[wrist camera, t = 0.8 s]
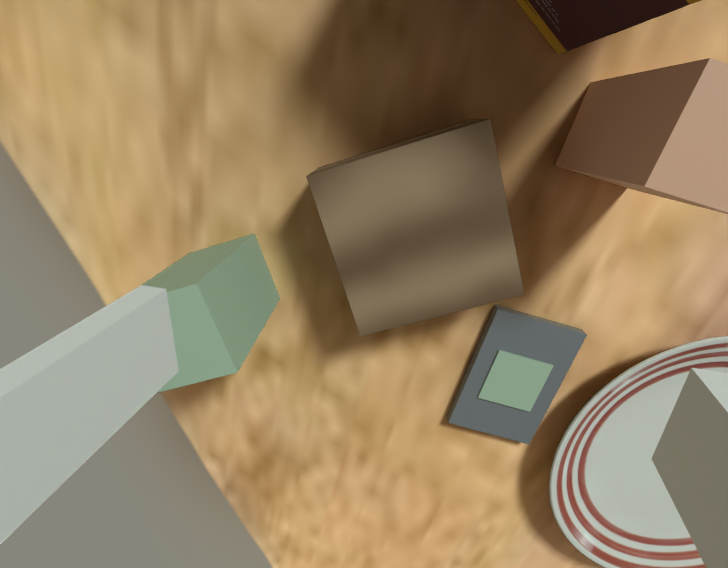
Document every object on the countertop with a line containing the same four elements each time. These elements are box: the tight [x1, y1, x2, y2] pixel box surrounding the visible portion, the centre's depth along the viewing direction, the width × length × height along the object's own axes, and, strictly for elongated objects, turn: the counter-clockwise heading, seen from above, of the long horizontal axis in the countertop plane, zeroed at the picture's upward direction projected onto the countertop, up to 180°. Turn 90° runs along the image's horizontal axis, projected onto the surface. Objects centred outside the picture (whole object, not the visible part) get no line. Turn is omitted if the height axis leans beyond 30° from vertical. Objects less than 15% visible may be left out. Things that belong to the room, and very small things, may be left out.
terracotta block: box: [555, 58, 728, 214], centre depth 27 cm, size 6×6×12 cm
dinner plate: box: [549, 336, 728, 568], centre depth 40 cm, size 28×27×3 cm
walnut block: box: [306, 119, 524, 336], centre depth 32 cm, size 12×12×6 cm
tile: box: [447, 305, 587, 444], centre depth 39 cm, size 12×8×1 cm, turn 164°
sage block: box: [142, 234, 280, 393], centre depth 32 cm, size 6×6×12 cm
